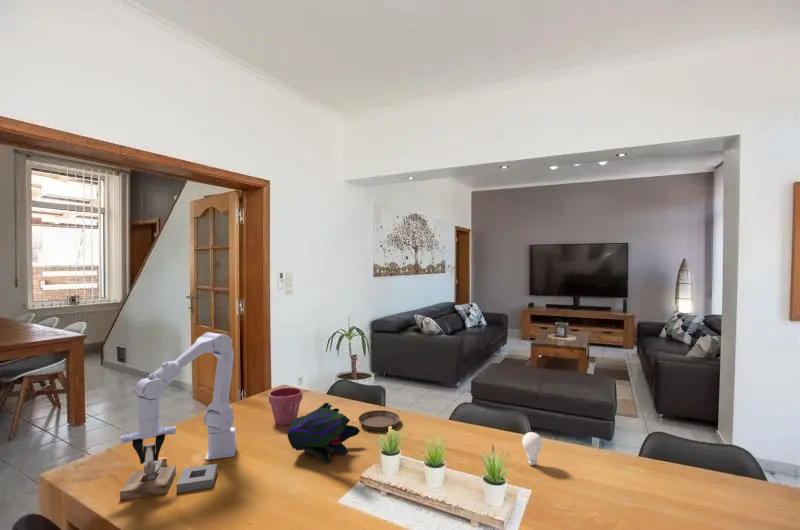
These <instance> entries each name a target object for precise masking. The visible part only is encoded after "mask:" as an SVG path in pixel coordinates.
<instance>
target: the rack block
mask: <svg viewBox="0 0 800 530" xmlns="http://www.w3.org/2000/svg"><path fill="white" fill-rule="evenodd" d="M217 473H218V463H212V464H205V465H198V466H192V467H183V469H182V471H181V473H180V476H179V479H178V480H177V482H176V493H184V492H189V491H190V492H191V491H196V490H197V491H198V490H203V489H209V488H213V487H214V484H215V480H216V477H217Z"/></svg>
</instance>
